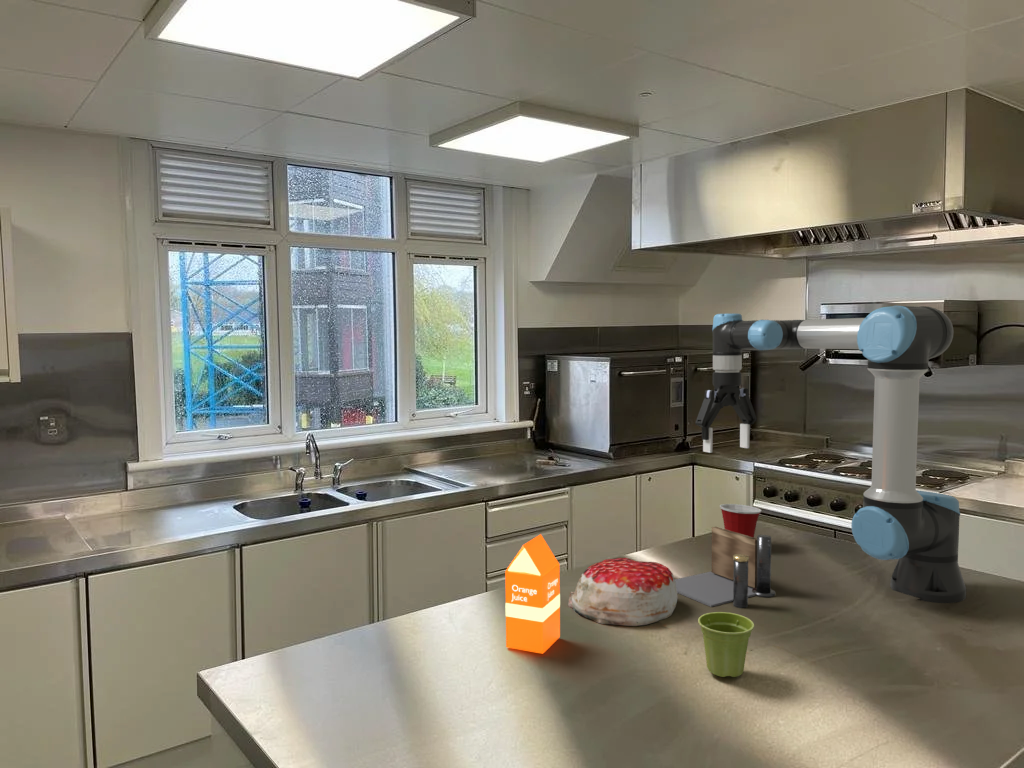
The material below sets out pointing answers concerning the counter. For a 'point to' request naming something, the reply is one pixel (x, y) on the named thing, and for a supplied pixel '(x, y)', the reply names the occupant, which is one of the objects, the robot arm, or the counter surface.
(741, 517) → the plastic cup
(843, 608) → the counter surface
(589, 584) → the strawberry shortcake
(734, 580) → the salt and pepper shakers
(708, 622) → the plant pot
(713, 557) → the gate
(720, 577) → the rubber mat
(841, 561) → the counter surface
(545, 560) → the orange juice
